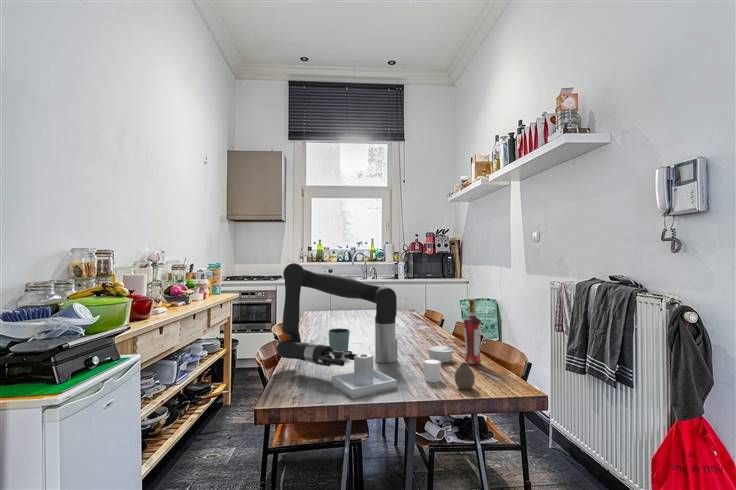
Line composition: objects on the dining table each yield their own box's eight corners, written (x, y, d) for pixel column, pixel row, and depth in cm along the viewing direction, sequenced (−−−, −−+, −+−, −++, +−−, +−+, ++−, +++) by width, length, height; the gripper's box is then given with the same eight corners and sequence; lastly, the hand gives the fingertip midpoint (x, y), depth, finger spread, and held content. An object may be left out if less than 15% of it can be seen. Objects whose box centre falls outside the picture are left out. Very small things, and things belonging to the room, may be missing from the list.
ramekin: (453, 364, 161) (453, 352, 162) (427, 363, 164) (427, 351, 164) (452, 357, 172) (452, 346, 173) (428, 356, 175) (428, 345, 175)
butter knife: (496, 380, 139) (502, 379, 140) (457, 362, 165) (462, 361, 166) (496, 382, 139) (502, 380, 140) (457, 363, 165) (462, 362, 166)
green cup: (337, 351, 184) (337, 327, 184) (354, 354, 178) (353, 329, 178) (324, 356, 175) (324, 330, 176) (340, 359, 169) (340, 333, 170)
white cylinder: (430, 383, 136) (430, 364, 137) (419, 378, 142) (419, 360, 143) (445, 381, 140) (444, 362, 140) (433, 375, 146) (433, 357, 146)
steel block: (362, 380, 137) (362, 352, 138) (373, 383, 135) (373, 354, 135) (354, 384, 133) (354, 355, 134) (365, 387, 130) (365, 358, 131)
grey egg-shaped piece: (471, 393, 127) (471, 367, 127) (452, 389, 131) (451, 364, 131) (477, 387, 133) (476, 362, 133) (458, 383, 137) (458, 359, 137)
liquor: (467, 360, 167) (466, 298, 168) (484, 363, 163) (483, 299, 164) (461, 364, 161) (460, 299, 162) (478, 367, 157) (477, 300, 158)
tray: (373, 376, 145) (373, 368, 145) (396, 388, 132) (396, 380, 132) (331, 384, 136) (331, 376, 136) (352, 398, 122) (352, 389, 123)
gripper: (305, 348, 141) (338, 354, 132) (329, 341, 153) (362, 346, 143) (305, 368, 141) (338, 375, 131) (329, 359, 152) (362, 366, 143)
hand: (350, 360), depth 138 cm, fingers open, 8 cm apart
